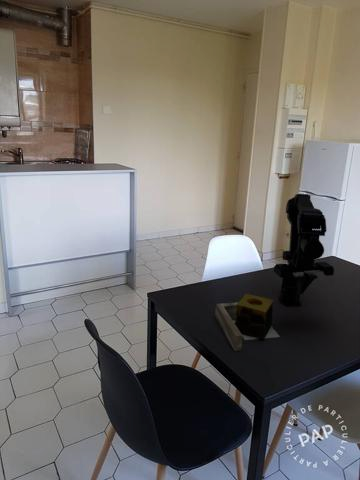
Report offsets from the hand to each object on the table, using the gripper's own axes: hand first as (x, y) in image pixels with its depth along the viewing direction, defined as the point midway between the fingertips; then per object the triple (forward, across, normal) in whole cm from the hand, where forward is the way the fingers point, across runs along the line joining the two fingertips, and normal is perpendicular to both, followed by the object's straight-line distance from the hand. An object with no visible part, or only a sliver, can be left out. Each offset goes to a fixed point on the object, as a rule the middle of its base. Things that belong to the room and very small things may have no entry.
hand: (300, 293), depth 123 cm
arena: (+12, +16, +1) cm, 20 cm away
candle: (+12, +16, +1) cm, 20 cm away
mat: (+12, +15, 0) cm, 19 cm away
